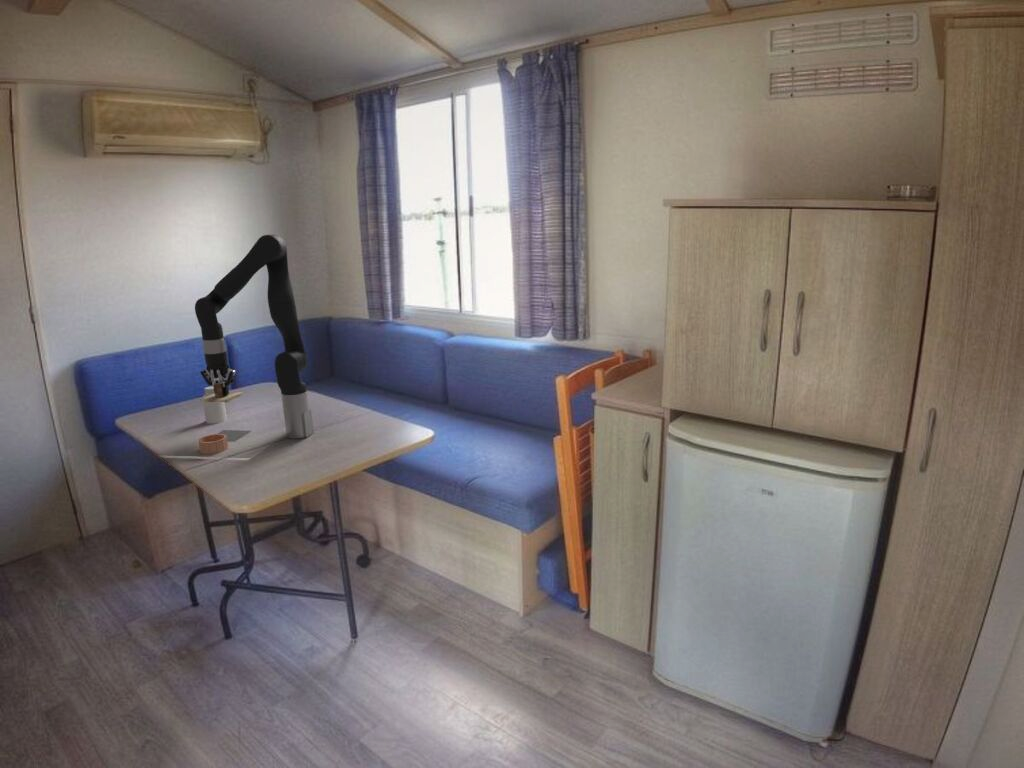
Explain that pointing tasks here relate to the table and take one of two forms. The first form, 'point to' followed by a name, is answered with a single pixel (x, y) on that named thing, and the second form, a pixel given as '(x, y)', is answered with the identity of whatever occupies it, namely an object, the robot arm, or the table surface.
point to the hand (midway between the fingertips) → (222, 395)
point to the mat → (234, 434)
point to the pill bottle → (214, 409)
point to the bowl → (213, 443)
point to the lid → (221, 395)
